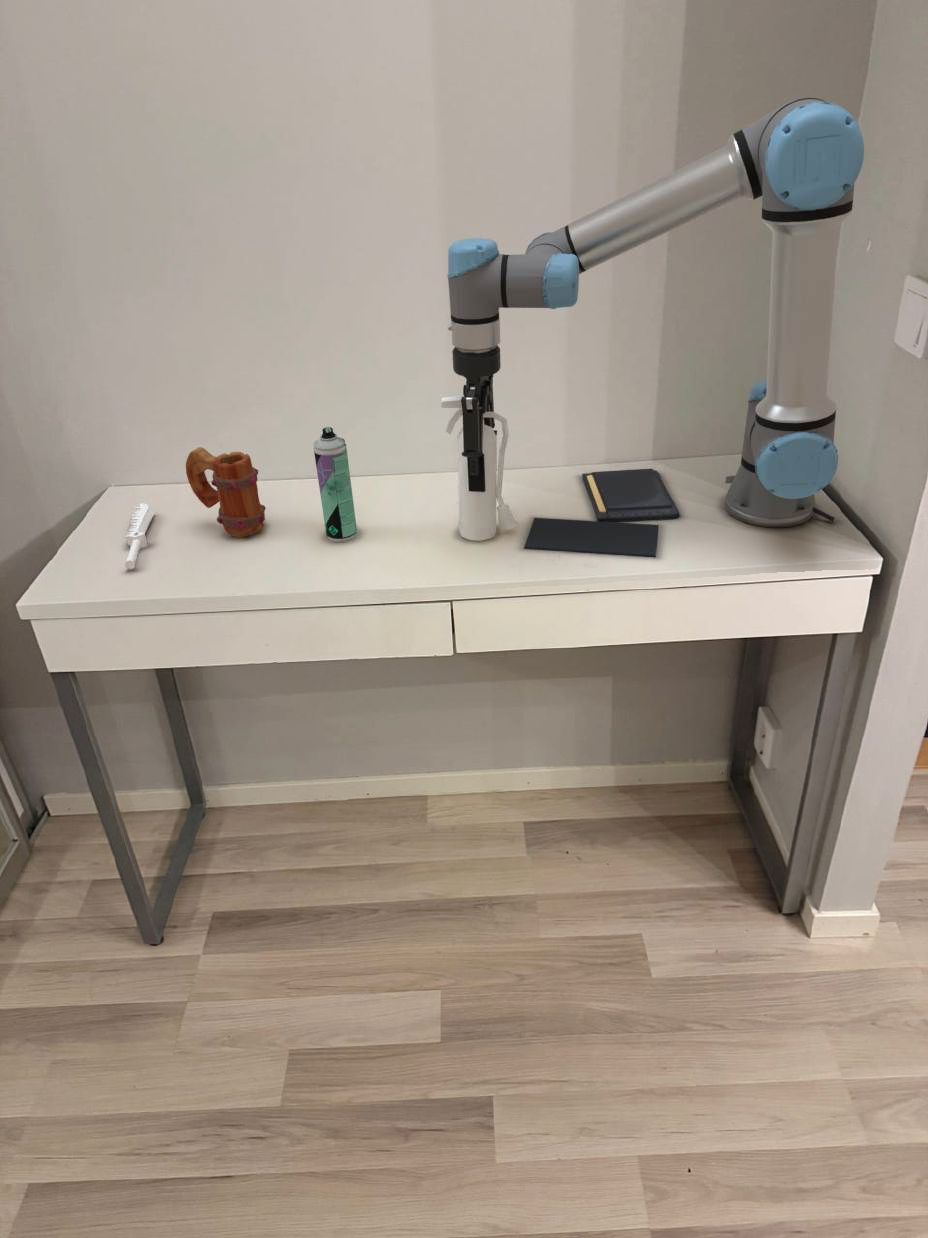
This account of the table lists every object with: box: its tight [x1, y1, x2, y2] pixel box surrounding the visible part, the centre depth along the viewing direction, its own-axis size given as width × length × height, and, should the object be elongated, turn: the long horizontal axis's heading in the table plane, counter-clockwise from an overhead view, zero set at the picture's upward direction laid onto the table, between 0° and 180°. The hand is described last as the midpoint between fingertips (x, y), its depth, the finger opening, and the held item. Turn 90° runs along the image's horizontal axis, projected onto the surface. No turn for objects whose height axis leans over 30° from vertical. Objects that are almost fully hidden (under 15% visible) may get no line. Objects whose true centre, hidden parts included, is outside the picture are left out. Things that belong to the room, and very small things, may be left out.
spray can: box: [313, 426, 358, 543], centre depth 155 cm, size 6×6×20 cm
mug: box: [185, 446, 266, 538], centre depth 161 cm, size 15×8×15 cm, turn 65°
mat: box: [523, 517, 660, 558], centre depth 156 cm, size 22×11×1 cm, turn 77°
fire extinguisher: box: [440, 394, 518, 542], centre depth 152 cm, size 7×12×25 cm, turn 84°
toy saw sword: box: [124, 503, 155, 570], centre depth 162 cm, size 3×4×22 cm
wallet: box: [581, 468, 681, 522], centre depth 168 cm, size 20×2×15 cm
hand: (481, 481), depth 154 cm, fingers closed on fire extinguisher, 6 cm apart
